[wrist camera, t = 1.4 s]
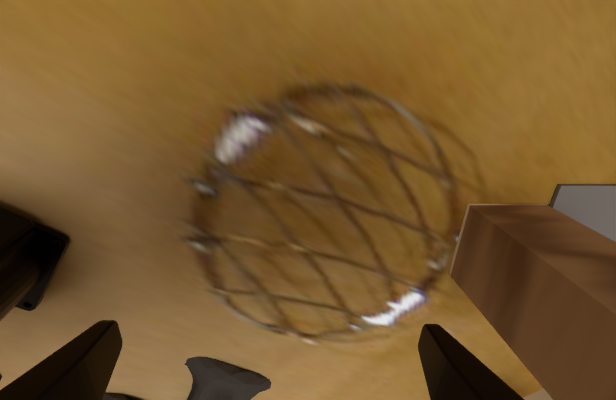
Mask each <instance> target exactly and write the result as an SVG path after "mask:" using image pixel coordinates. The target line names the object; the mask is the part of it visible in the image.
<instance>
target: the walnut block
mask: <svg viewBox="0 0 616 400" xmlns="http://www.w3.org/2000/svg"><path fill="white" fill-rule="evenodd" d="M449 274H450V276H451V277H452V278H453V279H454V280H455V282H456V283H457V284H458V285H459V286H460V288H461V289H462V290H463V291H464V292H465V294H466V295H467V296H468V297H469V298H470V300H471V301H472V302H473V303H474V305H475V306H476V307H477V308H478V309H479V311H480V312H481V313H482V314H483V315H484V317H485V318H486V319H487V320H488V321H489V323H490V324H491V325H492V326H493V327H494V329H495V330H496V331H497V332H498V334H499V335H500V336H501V337H502V338H503V340H504V341H505V342H506V343H507V344H508V346H509V347H510V348H511V349H512V350H513V352H514V353H515V354H516V355H517V356H518V358H519V359H520V360H521V361H522V363H523V364H524V365H525V366H526V367H527V369H528V370H529V371H530V372H531V373H532V375H533V376H534V377H535V378H536V379H537V381H538V382H539V383H540V384H541V385H542V387H543V388H544V389H545V390H546V391H547V393H548V394H549V395H550V396H551V398H552V399H553V400H616V242H615V241H613V240H611V239H609V238H607V237H605V236H604V235H602V234H600V233H598V232H596V231H594V230H592V229H591V228H589V227H587V226H585V225H583V224H581V223H579V222H578V221H576V220H574V219H572V218H570V217H568V216H567V215H565V214H563V213H561V212H559V211H557V210H555V209H554V208H552V207H550V206H548V205H546V204H544V203H513V204H467V208H466V212H465V215H464V219H463V223H462V226H461V230H460V233H459V237H458V241H457V244H456V248H455V252H454V255H453V259H452V262H451V266H450V270H449Z"/></svg>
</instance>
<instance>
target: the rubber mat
mask: <svg viewBox="0 0 616 400" xmlns="http://www.w3.org/2000/svg"><path fill="white" fill-rule="evenodd" d="M550 207H552V208H554V209H555V210H557V211H559V212H561V213H563V214H565V215H567V216H568V217H570V218H572V219H574V220H576V221H578V222H579V223H581V224H583V225H585V226H587V227H589V228H591V229H592V230H594V231H596V232H598V233H600V234H602V235H604V236H605V237H607V238H609V239H611V240H613V241H615V242H616V185H606V184H558V185H557V188H556V191H555V193H554V196H553V198H552V201H551V203H550Z"/></svg>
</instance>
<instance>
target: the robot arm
mask: <svg viewBox="0 0 616 400" xmlns="http://www.w3.org/2000/svg"><path fill="white" fill-rule="evenodd" d="M56 240H58V241H60V242H61V244H60V243H58V242H57V241H56ZM68 244H69V239H68V237H67V236H65V235H64V234H62V233H59V232H57V231H55V230H52V229H50V228H47V227H45V226H43V225H40V224H38V223H36V222H33V221H31V220H29V219H26V218H24V217H21V216H19V215H17V214H14V213H12V212H10V211H7V210H5V209H2V208H0V321H1V320H2V319H3V318H4V317H5V316H6V315H7V314H8V313H9V312H10V311H11V310H12V309H13V308H14V307H18V308H21V309H24V310H28V311H31V310H34V309H35V308H36V307H37V306H38V305H39V304H40V302H41V299H42V297H43V295H44V293H45V291H46V289H47V287H48V285H49V283H50V281H51V279H52V277H53V275H54V273H55V271H56V269H57V267H58V265H59V263H60V261H61V259H62V257H63V255H64V253H65V251H66V248H67V246H68ZM121 348H122V338H121V334H120V330H119V326H118V323H117V322H116V321H114V320H102V321H99V322H97V323H96V324H94V325H93V326H91V327H90V328H89V329H87V330H86V331H84V332H83V333H82V334H80V335H79V336H77V337H76V338H74V339H73V340H72V341H70V342H69V343H67V344H66V345H64V346H63V347H62V348H60V349H59V350H57V351H56V352H54V353H53V354H52V355H50V356H49V357H47V358H46V359H44V360H43V361H42V362H40V363H39V364H37V365H36V366H34V367H33V368H32V369H30V370H29V371H27V372H26V373H24V374H23V375H22V376H20V377H19V378H17V379H16V380H14V381H13V382H12V383H10V384H9V385H7V386H6V387H4V388H3V389H2V390H0V400H102V399H103V396H104V394H105V391H106V388H107V386H108V383H109V381H110V378H111V375H112V373H113V370H114V367H115V365H116V362H117V359H118V357H119V354H120V351H121ZM418 350H419V355H420V359H421V363H422V367H423V371H424V375H425V379H426V383H427V387H428V391H429V395H430V399H431V400H524V399H523V398H522V397H521V396H520V395H518V394H517V393H516V392H515V391H514V390H513V389H512V388H510V387H509V386H508V385H507V384H506V383H505V382H504V381H502V380H501V379H500V378H499V377H498V376H497V375H496V374H494V373H493V372H492V371H491V370H490V369H489V368H488V367H487V366H485V365H484V364H483V363H482V362H481V361H480V360H479V359H477V358H476V357H475V356H474V355H473V354H472V353H471V352H469V351H468V350H467V349H466V348H465V347H464V346H463V345H461V344H460V343H459V342H458V341H457V340H456V339H455V338H453V337H452V336H451V335H450V334H449V333H448V332H447V331H445V330H444V329H443V328H442V327H441V326H440V325H438V324H425V325H424V326H423V328H422V332H421V335H420V339H419V343H418ZM1 378H2V375H1V374H0V380H1Z"/></svg>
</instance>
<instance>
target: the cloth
mask: <svg viewBox="0 0 616 400" xmlns="http://www.w3.org/2000/svg"><path fill="white" fill-rule="evenodd" d="M185 365H187V366H188V368H189V370H190V372H191V374H192V377H193V384H192V390H191V392H190V394H189V397H188V399H187V400H250V399H251V398H253V397H254V396H255V395H256V394H258V393H259V392H261V391H265V390H267V389H269V388H270V386H271V382H270V380H269V379H267V378H266V377H264V376H263V375H261V374H259V373H254V372H250V371H247V370H244V369H240V368H238V367H236V366H233V365H230V364H226V363H223V362H221V361H218V360H216V359H212V358H208V357H193V358H189V359H187V361H186V364H185ZM102 400H130V399H129V398H127V397H125V396H123V395H120V394H116V393H105V394H104V396H103V399H102Z"/></svg>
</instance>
